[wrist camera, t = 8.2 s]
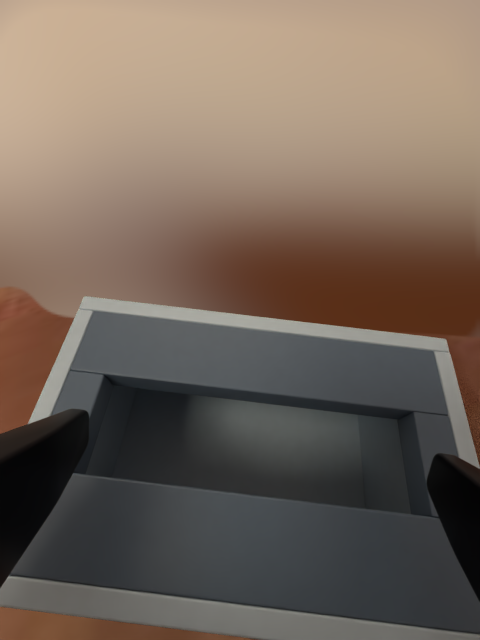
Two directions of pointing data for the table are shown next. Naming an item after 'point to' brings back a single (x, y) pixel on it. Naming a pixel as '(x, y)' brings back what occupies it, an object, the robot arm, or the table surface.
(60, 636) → the table surface
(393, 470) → the grey hollow block
